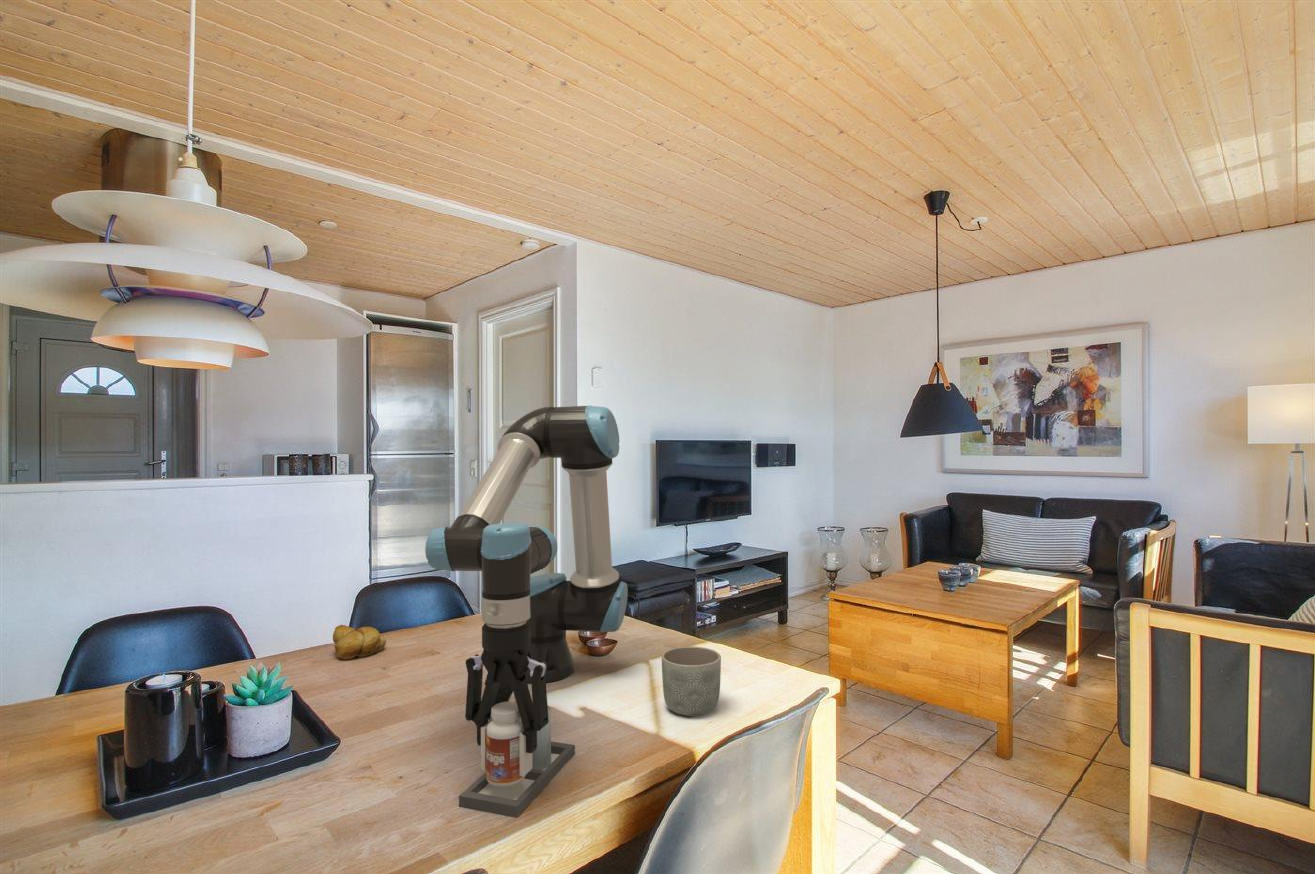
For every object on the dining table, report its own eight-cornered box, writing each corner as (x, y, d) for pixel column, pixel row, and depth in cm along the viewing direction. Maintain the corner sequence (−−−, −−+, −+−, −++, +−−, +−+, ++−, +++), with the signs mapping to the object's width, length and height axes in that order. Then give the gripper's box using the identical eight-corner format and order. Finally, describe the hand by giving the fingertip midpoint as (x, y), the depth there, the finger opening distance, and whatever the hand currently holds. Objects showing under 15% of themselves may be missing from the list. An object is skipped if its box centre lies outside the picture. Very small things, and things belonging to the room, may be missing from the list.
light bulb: (520, 717, 127) (519, 667, 127) (504, 729, 122) (504, 677, 122) (496, 713, 129) (496, 664, 129) (479, 725, 124) (479, 674, 124)
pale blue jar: (511, 768, 106) (511, 709, 106) (528, 753, 112) (527, 696, 112) (541, 773, 105) (541, 713, 105) (556, 757, 110) (556, 700, 110)
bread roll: (383, 645, 175) (383, 616, 175) (390, 655, 166) (389, 624, 167) (331, 654, 168) (331, 623, 168) (335, 664, 159) (335, 632, 160)
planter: (680, 725, 123) (679, 669, 123) (651, 703, 134) (651, 651, 134) (733, 713, 129) (732, 659, 129) (701, 692, 140) (700, 642, 140)
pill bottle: (478, 779, 99) (478, 708, 99) (510, 764, 104) (510, 696, 104) (501, 792, 95) (501, 718, 95) (534, 776, 100) (534, 705, 100)
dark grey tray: (458, 806, 96) (458, 795, 96) (524, 746, 115) (524, 737, 115) (517, 817, 93) (517, 806, 93) (574, 753, 112) (574, 744, 112)
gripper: (440, 623, 99) (440, 771, 99) (549, 633, 93) (550, 790, 93) (468, 611, 106) (468, 749, 106) (571, 620, 101) (572, 765, 100)
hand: (506, 768), depth 99 cm, fingers closed on pill bottle, 6 cm apart
